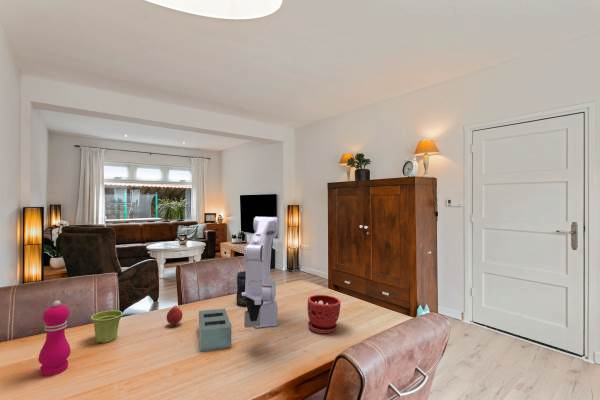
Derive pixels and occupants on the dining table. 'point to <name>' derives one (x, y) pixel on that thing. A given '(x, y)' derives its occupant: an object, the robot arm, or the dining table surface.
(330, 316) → the plant pot
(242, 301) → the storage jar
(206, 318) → the toaster
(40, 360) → the pepper mill
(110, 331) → the plant pot
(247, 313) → the grey tall block
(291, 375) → the dining table surface
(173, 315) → the onion
